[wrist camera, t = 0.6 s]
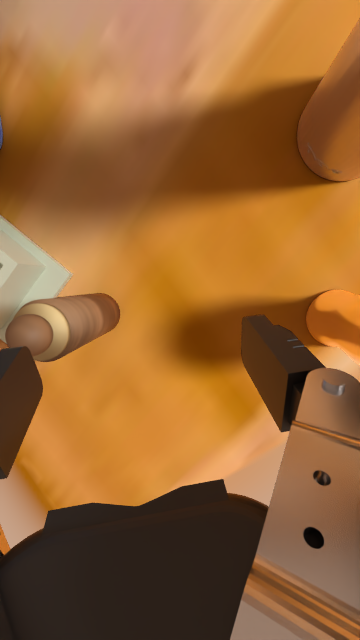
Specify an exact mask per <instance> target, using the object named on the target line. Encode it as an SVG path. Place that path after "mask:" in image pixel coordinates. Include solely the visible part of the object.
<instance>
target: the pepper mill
mask: <svg viewBox="0 0 360 640" xmlns="http://www.w3.org/2000/svg"><path fill="white" fill-rule="evenodd" d="M119 319H120V309H119V306H118V304H117V303H116V301H115V300H114V299H113V298H112V297H110V296H109V295H106V294H102V293H97V294H87V295H77V296H68V297H58V298H49V299H39V300H34V301H30V302H28V303H26V304H25V305H24V306H22V307H21V308H20V309H19V311H18V312H17V313H16V314H15V316H14V318H13V320H12V321H11V322H10V323H9V325H8V327H7V329H6V332H5V340H6V343H7V345H8V347H9V348H14V347H21V346H26V347H28V348H29V350H30V352H31V354H32V357H33V359H34V360H37V361H41V362H50V361H55V360H57V359H59V358H61V357H63V356H65V355H67V354H69V353H70V352H72V351H74V350H76V349H78V348H80V347H81V346H83V345H85V344H87V343H89V342H91V341H92V340H94V339H96V338H98V337H100V336H102V335H103V334H105V333H107V332H109V331H111V330H112V329H113V328H115V326H116V325H117V324H118V322H119Z"/></svg>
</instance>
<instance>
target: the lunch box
mask: <svg viewBox="0 0 360 640" xmlns="http://www.w3.org/2000/svg"><path fill="white" fill-rule="evenodd" d="M2 143H3V131H2V123H1V117H0V149H1V146H2Z"/></svg>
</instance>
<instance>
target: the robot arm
mask: <svg viewBox="0 0 360 640" xmlns="http://www.w3.org/2000/svg"><path fill="white" fill-rule="evenodd" d="M297 142H298V148H299V151H300V155H301V157H302V158H303V160H304V162H305V164H306V165H307V166H308V167H309V168H310V169H311V170H312V171H313V172H314V173H316V174H317V175H319V176H320V177H323V178H325V179H328V180H333V181H349V180H353V179H356V178H359V177H360V19H359V20H358V22H357V23H356V25H355V27H354V28H353V30H352V32H351V33H350V35H349V37H348V38H347V40H346V41H345V43H344V45H343V46H342V48H341V50H340V51H339V53H338V55H337V56H336V58H335V59H334V61H333V63H332V64H331V66H330V68H329V69H328V71H327V73H326V74H325V76H324V77H323V79H322V80H321V82H320V84H319V85H318V87H317V89H316V90H315V92H314V94H313V95H312V97H311V98H310V100H309V102H308V103H307V105H306V107H305V109H304V111H303V112H302V114H301V117H300V120H299V124H298V130H297ZM241 355H242V361H243V364H244V366H245V368H246V370H247V372H248V374H249V376H250V377H251V379H252V381H253V383H254V385H255V386H256V388H257V390H258V392H259V394H260V395H261V397H262V399H263V401H264V403H265V404H266V406H267V408H268V410H269V412H270V413H271V415H272V417H273V419H274V421H275V422H276V424H277V426H278V428H279V430H280V431H281V432H286V431H290V432H289V436H288V440H287V443H286V447H285V451H284V454H283V458H282V462H281V465H280V469H279V472H278V476H277V480H276V483H275V487H274V490H273V494H272V498H271V501H270V505H269V507H268V506H267V505H265V504H263V503H261V502H259V501H256V500H254V499H252V498H249V497H246V496H242V495H237V494H232V493H227V491H226V488H225V484H224V480H223V479H220V480H215V481H209V482H204V483H198V484H193V485H187V486H182V487H180V488H178V489H175V490H173V491H171V492H169V493H167V494H165V495H162V496H160V497H158V498H156V499H154V500H152V501H149V502H147V503H145V504H143V505H140V506H123V505H112V504H101V503H89V504H83V505H78V506H72V507H67V508H61V509H56V510H50V511H48V514H47V518H46V522H45V526H44V528H43V529H41V530H39V531H37V532H35V533H33V534H32V535H30V536H28V537H27V538H25V539H24V540H23V541H21V542H20V543H18V544H17V545H15V546H14V547H13V548H12V549H10V547H9V545H8V542H7V540H6V538H5V535H4V532H3V530H2V527H1V525H0V640H360V383H359V381H358V380H357V379H355V378H354V377H353V376H351V375H349V374H348V373H345V372H343V371H340V370H337V369H331V368H326V367H325V366H324V365H323V364H322V363H321V362H320V361H319V360H318V359H317V358H316V357H315V356H314V355H313V354H312V353H311V352H310V351H309V350H308V349H307V348H306V347H304V345H303V344H302V343H301V341H300V340H298V338H297V337H296V336H295V335H294V334H293V333H292V332H291V331H290V330H288V329H286V328H284V327H282V326H280V325H273V324H272V323H271V322H270V321H269V320H268V319H267V318H266V316H265V315H263V314H261V315H254V316H246V317H243V319H242V337H241ZM42 392H43V385H42V380H41V377H40V374H39V372H38V369H37V367H36V364H35V362H34V359H33V357H32V354H31V352H30V350H29V348H28V347H26V346H21V347H14V348H6V349H2V350H1V351H0V479H4V478H7V477H8V475H9V472H10V470H11V468H12V465H13V463H14V461H15V458H16V456H17V453H18V451H19V449H20V446H21V444H22V442H23V439H24V437H25V435H26V432H27V430H28V427H29V425H30V423H31V420H32V418H33V416H34V413H35V411H36V408H37V406H38V404H39V401H40V399H41V397H42Z"/></svg>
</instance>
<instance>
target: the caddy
mask: <svg viewBox="0 0 360 640" xmlns="http://www.w3.org/2000/svg"><path fill="white" fill-rule="evenodd" d="M72 275H73V274H72V273H71V272H70V271H68V270H67V269H66V268H65V267H64V266H62V265H61V264H60V263H59V262H57V261H56V260H55V259H54V258H53V257H51V256H50V255H49V254H48V253H46V252H45V251H44V250H43V249H42V248H40V247H39V246H38V245H37V244H35V243H34V242H33V241H32V240H31V239H29V238H28V237H27V236H26V235H24V234H23V233H22V232H21V231H20V230H18V229H17V228H16V227H15V226H13V225H12V224H11V223H10V222H9V221H7V220H6V219H5V218H4V217H2V216H1V215H0V339H1V340H2V341H4V342H5V343H6V340H5V332H6V329H7V327H8V325H9V323H10V322H11V321H12V320H13V318H14V316H15V314H16V313H17V312H18V311H19V309H20V308H21V307H22V306H24V305H25V304H26V303H28V302H30V301H34V300H39V299H49V298H56V297H57V296H58V294H59V293H60V292H61V290H62V289H63V288H64V286H65V285H66V284H67V282H68V281H69V280H70V278H71V277H72ZM6 344H7V343H6Z"/></svg>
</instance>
